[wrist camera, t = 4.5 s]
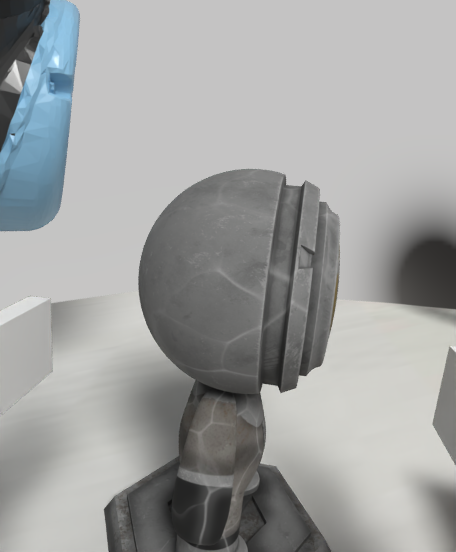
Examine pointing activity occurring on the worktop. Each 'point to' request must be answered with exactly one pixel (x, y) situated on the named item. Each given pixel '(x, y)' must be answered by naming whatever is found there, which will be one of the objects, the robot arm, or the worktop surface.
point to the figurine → (232, 359)
